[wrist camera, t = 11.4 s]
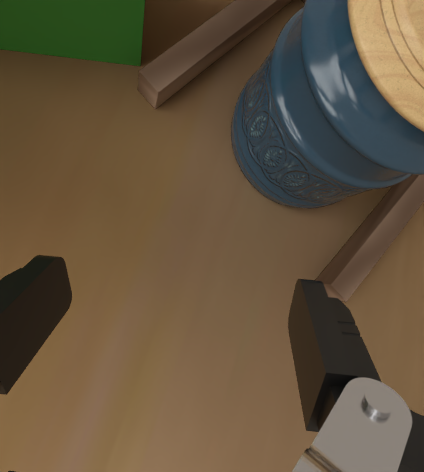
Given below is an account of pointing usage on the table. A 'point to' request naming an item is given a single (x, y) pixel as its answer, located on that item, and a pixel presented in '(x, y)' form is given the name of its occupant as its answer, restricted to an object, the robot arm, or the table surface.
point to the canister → (335, 103)
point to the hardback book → (74, 28)
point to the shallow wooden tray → (215, 46)
